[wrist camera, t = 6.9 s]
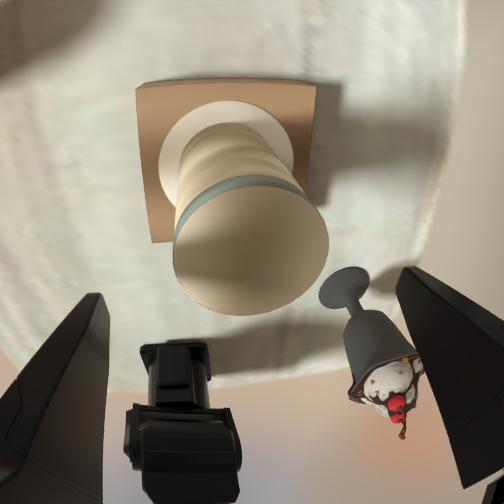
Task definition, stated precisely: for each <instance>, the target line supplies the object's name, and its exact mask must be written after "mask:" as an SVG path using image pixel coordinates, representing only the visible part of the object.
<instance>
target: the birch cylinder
mask: <svg viewBox="0 0 504 504" xmlns="http://www.w3.org/2000/svg"><path fill="white" fill-rule="evenodd" d="M328 250H329V237H328V232H327V228H326V225H325V222H324V220H323V218H322V216H321V215H320V213H319V212H318V210H317V209H316V207H315V206H314V204H313V203H312V202H311V200H310V199H309V198H308V197H307V195H306V194H305V193H304V191H303V190H302V189H301V187H300V186H299V184H298V183H297V182H296V180H295V179H294V178H293V176H292V175H291V173H290V172H289V171H288V169H287V168H286V167H285V165H284V164H283V163H282V161H281V160H280V159H279V157H278V156H277V155H276V153H275V152H274V151H273V149H272V148H271V147H270V145H269V144H268V143H267V141H266V140H265V139H264V138H263V137H262V136H261V135H260V134H259V133H258V132H257V131H255V130H254V129H252V128H250V127H248V126H245V125H242V124H238V123H219V124H214V125H212V126H209V127H207V128H205V129H203V130H201V131H200V132H198V133H197V134H196V135H195V136H193V137H192V138H191V140H190V141H189V142H188V143H187V145H186V146H185V148H184V150H183V152H182V155H181V158H180V164H179V174H178V186H177V199H176V214H175V231H174V240H173V266H174V271H175V274H176V277H177V279H178V282H179V284H180V285H181V287H182V289H183V290H184V291H185V292H186V294H187V295H188V296H189V297H190V298H192V299H193V300H194V301H195V302H197V303H198V304H200V305H201V306H203V307H205V308H207V309H209V310H212V311H215V312H218V313H222V314H227V315H236V316H247V315H256V314H262V313H266V312H270V311H273V310H276V309H278V308H280V307H283V306H285V305H287V304H289V303H290V302H292V301H294V300H295V299H297V298H298V297H300V296H301V295H302V294H303V293H304V292H306V291H307V290H308V289H309V288H310V287H311V286H312V285H313V283H314V282H315V281H316V279H317V278H318V277H319V275H320V273H321V272H322V270H323V267H324V265H325V263H326V259H327V256H328Z"/></svg>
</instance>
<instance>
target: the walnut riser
mask: <svg viewBox="0 0 504 504" xmlns="http://www.w3.org/2000/svg"><path fill="white" fill-rule="evenodd" d="M135 91H136V108H137V122H138V135H139V146H140V156H141V166H142V175H143V183H144V191H145V199H146V206H147V214H148V220H149V227H150V234H151V240H152V243H161V242H173V240H174V231H175V214H176V199H177V186H178V174H179V164H180V158H181V155H182V152H183V150H184V148H185V146H186V145H187V143H188V142H189V141H190V140H191V138H192V137H193V136H195V135H196V134H197V133H198V132H200V131H201V130H203V129H205V128H207V127H209V126H212V125H214V124H219V123H238V124H242V125H245V126H248V127H250V128H252V129H254V130H255V131H257V132H258V133H259V134H260V135H261V136H262V137H263V138H264V139H265V140H266V141H267V143H268V144H269V145H270V147H271V148H272V149H273V151H274V152H275V153H276V155H277V156H278V157H279V159H280V160H281V161H282V163H283V164H284V165H285V167H286V168H287V169H288V171H289V172H290V173H291V175H292V176H293V178H294V179H295V180H296V182H297V183H298V184H299V186H300V187H301V189H302V190H303V191H304V193H305V189H306V180H307V172H308V164H309V155H310V146H311V137H312V127H313V117H314V107H315V97H316V87H315V86H312V85H310V84H307V83H304V82H301V81H298V80H283V79H259V78H210V79H187V80H171V81H159V82H149V83H144V84H142V85H141V86H139V87H138V88H136V89H135Z"/></svg>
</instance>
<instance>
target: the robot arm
mask: <svg viewBox="0 0 504 504" xmlns="http://www.w3.org/2000/svg"><path fill="white" fill-rule="evenodd" d="M396 295H397V298H398V301H399V304H400V307H401V310H402V313H403V315H404V319H405V321H406V325H407V328H408V331H409V333H410V336H411V338H412V341H413V343H414V345H415V348H416V350H417V353H418V355H419V358H420V360H421V363H422V365H423V368H424V370H425V373H426V375H427V378H428V380H429V383H430V386H431V388H432V391H433V394H434V397H435V399H436V402H437V405H438V407H439V411H440V413H441V416H442V419H443V422H444V425H445V428H446V431H447V434H448V437H449V441H450V445H451V448H452V451H453V455H454V458H455V462H456V465H457V469H458V472H459V476H460V480H461V484H462V486H463V489H466V488H468V487H470V486H472V485H474V484H476V483H477V482H479V481H481V480H483V479H485V478H486V477H488V476H490V475H492V474H494V473H496V472H497V471H499V470H501V469H502V471H503V474H502V475H501V476H499V477H498V478H497V479H495V480H494V481H493V482H491V483H490V484H488V485H487V488H486V492H485V495H484V498H483V501H482V504H504V321H503V320H502V319H500V318H498V317H497V316H495V315H494V314H492V313H491V312H489V311H488V310H486V309H484V308H483V307H481V306H480V305H478V304H477V303H475V302H474V301H472V300H470V299H469V298H467V297H466V296H464V295H463V294H461V293H459V292H458V291H456V290H454V289H453V288H451V287H450V286H448V285H446V284H445V283H443V282H441V281H439V280H438V279H436V278H435V277H433V276H431V275H430V274H428V273H426V272H425V271H423V270H421V269H420V268H418V267H416V266H409V267H405V268H404V269H403V270H402V272H401V274H400V277H399V279H398V282H397V284H396ZM109 341H110V315H109V312H108V309H107V306H106V303H105V300H104V298H103V295H102V294H101V293H99V292H98V293H88V294H86V295H85V296H84V297H83V298H82V299H81V301H80V302H79V303H78V304H77V305H76V306H75V307H74V308H73V310H72V311H71V312H70V313H69V314H68V315H67V316H66V318H65V319H64V320H63V321H62V322H61V323H60V324H59V326H58V327H57V328H56V329H55V330H54V332H53V333H52V334H51V335H50V336H49V337H48V339H47V340H46V341H45V342H44V343H43V345H42V346H41V347H40V348H39V350H38V351H37V352H36V353H35V355H34V356H33V357H32V358H31V360H30V361H29V362H28V363H27V365H26V366H25V367H24V368H23V370H22V371H21V372H20V374H19V375H18V376H17V379H15V380H14V381H13V383H12V384H11V385H10V387H9V388H8V389H7V390H6V392H5V393H4V394H3V396H2V397H1V398H0V504H103V502H102V501H103V494H102V493H103V488H102V487H103V485H102V483H103V481H102V480H103V479H102V478H103V475H102V474H103V471H102V470H103V439H104V421H105V407H106V395H107V385H108V375H109ZM140 355H141V357H142V360H143V363H144V365H145V368H146V370H147V373H148V375H149V383H148V405H139V404H137V403H133V409H131V410H129V411H126V427H125V437H124V438H125V439H124V453H125V454H126V455H127V456H128V457H129V458H130V462H131V463H132V467H133V470H136V471H142V487H143V491H144V493H145V494H146V495H147V497H148V498H149V500H150V501H151V502H152V504H230V503H235V502H236V500H237V497H238V495H239V492H240V489H239V483H238V477H237V472H238V471H239V470H240V468H241V464H242V449H241V443H240V439H239V436H238V433H237V430H236V427H235V424H234V420H233V417H232V414H231V411H230V408H223V409H211V408H210V403H209V394H208V385H207V382H208V381H210V380H211V373H210V365H209V356H208V347H207V344H206V343H190V344H175V345H157V346H142V347H140Z"/></svg>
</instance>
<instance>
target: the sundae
mask: <svg viewBox="0 0 504 504" xmlns="http://www.w3.org/2000/svg"><path fill="white" fill-rule="evenodd" d="M368 284H369V277H368V274H367V273H366V272H365V271H364V270H363V269H360V268H355V267H353V268H345V269H342V270H340V271H338V272H335V273H334V274H332V275H331V276H330V277H329V278H328V279H326V281H325V282H324V283H323V285H322V286H321V288H320V291H319V300H320V302H321V304H323V305H324V306H325V307H327V308H331V309H339V308H344V307H346V308H347V309H348V311H349V313H350V315H351V319H350V320H349V321H348V323H347V325H346V328H345V330H344V333H343V338H344V344H345V350H346V354H347V357H348V361H349V365H350V368H351V372H352V377H353V385H352V386H351V388H350V389H349V391H348V395H349V400H352V401H354V402H358V403H363V404H369V405H371V406H373V407H374V408H375V409H376V410H377V411H378V412H379V413H380V414H381V415H384V416H386V417H391V421H392V422H393V423H395V424H396V423H402V424H403V425H404V426H403V429H402V431H401V433H400V434H399V437H400V439H401V440H402V439H405V435H404V434H405V432H406V417H407V414H406V413H407V412H408V411H410V410H411V409H412V408H415V407H416V401H417V398H418V381H419V378H420V376H421V375H423V374H424V372H425V370H424V368H423V365H422V363H421V360H420V358H419V355H418V353H417V350H416V349H415V348H414V347H413V346H412V345H411V344H410V343H409V342H408V341H407V340H406V338H405V337H404V336H403V335H402V333H401V332H400V331H399V329H398V328H397V327H396V325H395V324H394V323H393V322H392V321H391V320H390V319H389V318H388V317H387V316H386V315H385V314H384V313H383V312H381V311H376V310H363V308H362V306H361V304H360V302H359V299H360V298H361V297H362V296H363V295H364V293H365V292H366V290H367V287H368ZM403 430H404V432H403Z"/></svg>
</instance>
